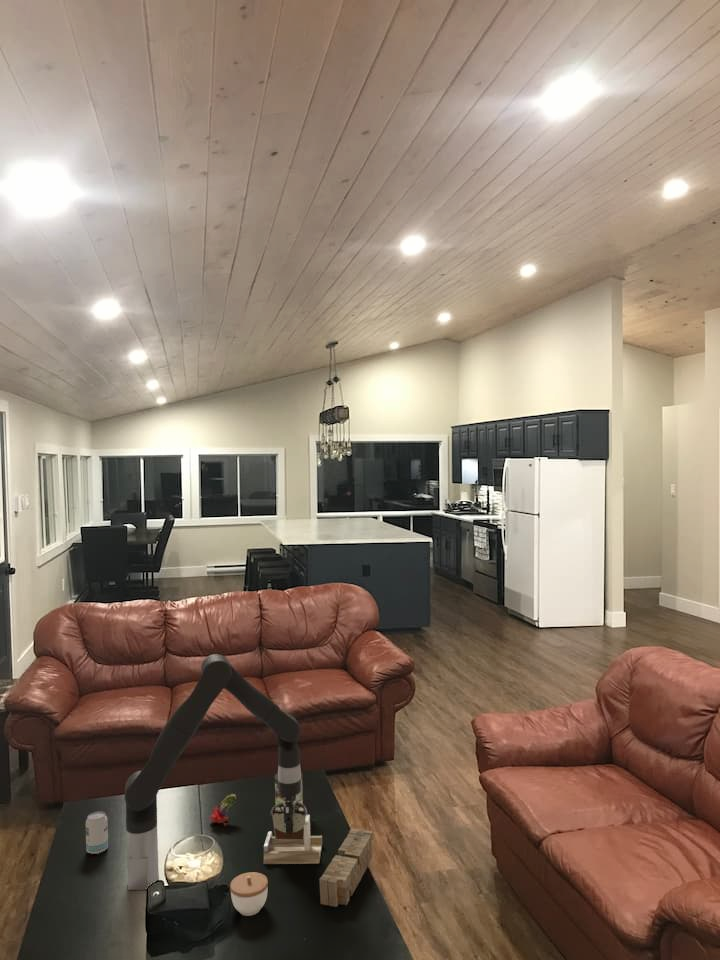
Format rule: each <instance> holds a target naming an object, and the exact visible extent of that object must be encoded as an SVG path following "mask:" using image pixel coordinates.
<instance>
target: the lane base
mask: <svg viewBox="0 0 720 960" xmlns="http://www.w3.org/2000/svg"><path fill="white" fill-rule="evenodd" d="M310 840H311V844H310V849H309V851H305V850H304V840H275V835H274V836H273V831H268V832H267V835H266V838H265V841H264V845H263V863H262V864H263V865H280V864H281V865H288V864H290V865H291V864H292V865H293V864H294V865H296V864H299V865H301V864H302V865H303V864H320V860H321V854H322V849H323V835H310Z"/></svg>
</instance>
